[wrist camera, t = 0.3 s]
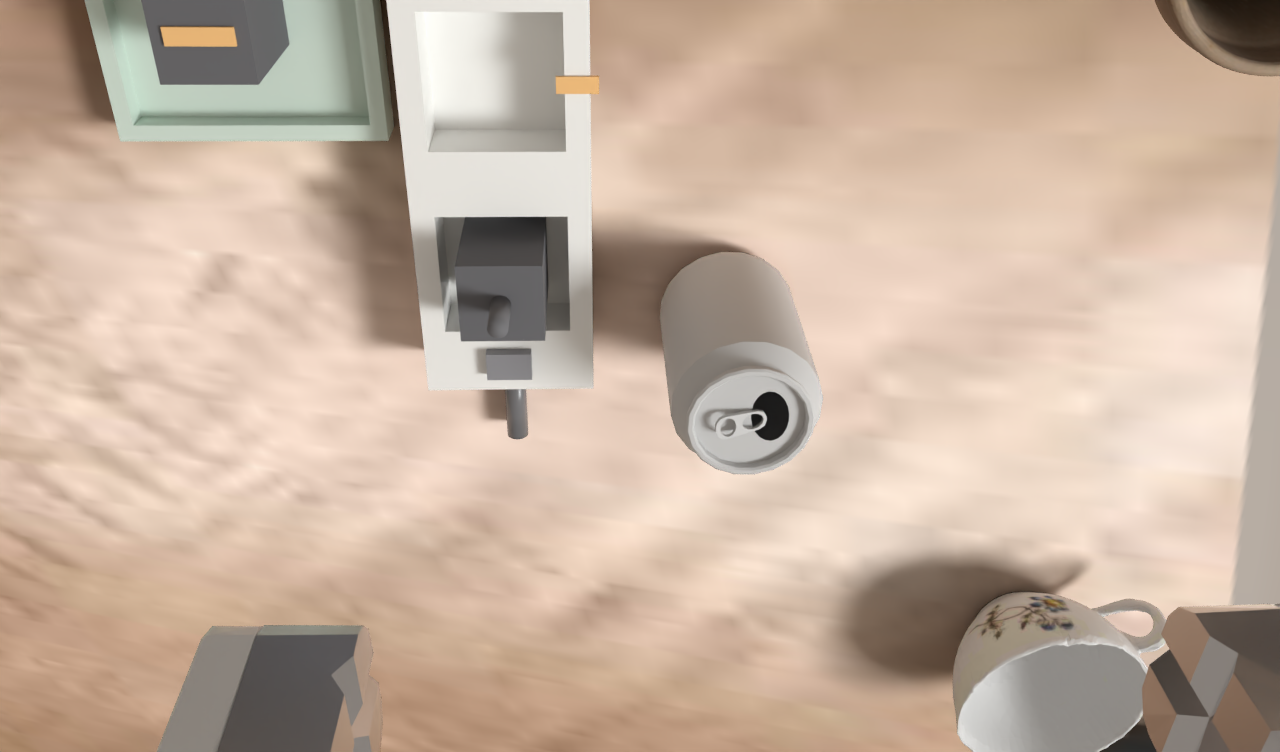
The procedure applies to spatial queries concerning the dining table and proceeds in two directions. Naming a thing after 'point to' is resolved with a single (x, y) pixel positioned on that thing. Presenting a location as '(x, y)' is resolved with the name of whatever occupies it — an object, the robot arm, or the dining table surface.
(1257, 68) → the flower pot
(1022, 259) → the dining table surface
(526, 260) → the twin plug
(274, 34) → the dark grey block
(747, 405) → the can
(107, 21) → the tray
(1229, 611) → the robot arm
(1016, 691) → the teacup
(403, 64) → the white power strip
